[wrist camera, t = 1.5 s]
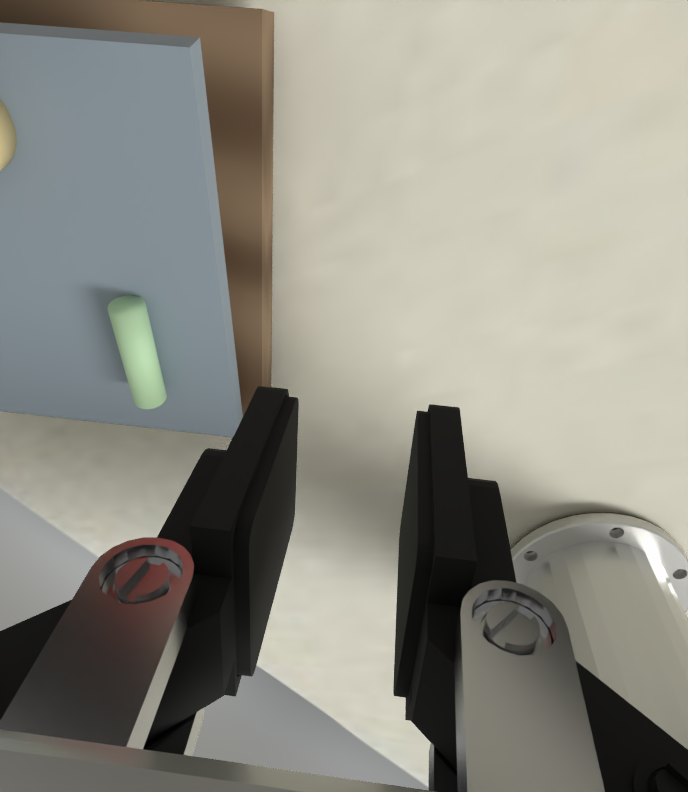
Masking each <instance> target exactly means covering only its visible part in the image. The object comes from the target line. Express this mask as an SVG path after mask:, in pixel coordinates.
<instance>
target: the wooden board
mask: <svg viewBox="0 0 688 792" xmlns="http://www.w3.org/2000/svg"><path fill="white" fill-rule="evenodd" d="M0 22H1V23H15V24H28V25H42V26H55V27H69V28H82V29H96V30H109V31H123V32H136V33H150V34H163V35H176V36H190V37H200V42H201V51H202V60H203V68H204V77H205V86H206V95H207V104H208V113H209V122H210V130H211V139H212V148H213V157H214V166H215V175H216V183H217V192H218V201H219V210H220V219H221V228H222V237H223V245H224V254H225V263H226V272H227V281H228V290H229V298H230V307H231V316H232V325H233V334H234V343H235V352H236V360H237V369H238V378H239V387H240V396H241V405H242V413H243V416H244V414H245V412H246V410H247V408H248V405H249V403H250V401H251V399H252V397H253V395H254V393H255V391H256V389H257V387H258V386H263V387H271V335H272V211H273V88H274V12H271V11H267V10H264V9H254V8H240V7H226V6H212V5H198V4H184V3H170V2H156V1H142V0H0Z"/></svg>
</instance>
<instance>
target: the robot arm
mask: <svg viewBox="0 0 688 792" xmlns="http://www.w3.org/2000/svg"><path fill="white" fill-rule="evenodd" d="M297 433H298V398H295V397H289V393H288V389H282V388H272V387H263V386H258V387H257V389H256V391H255V393H254V395H253V397H252V399H251V401H250V403H249V405H248V408H247V410H246V412H245V414H244V416H243V418H242V420H241V422H240V424H239V426H238V428H237V430H236V432H235V434H234V437H233V439H232V441H231V443H230V445H229V447H228V449H227V450H218V449H210V448H208V449H206V450H205V451H204V452H203V454H202V455H201V457H200V459H199V461H198V463H197V464H196V466H195V468H194V470H193V472H192V474H191V476H190V477H189V479H188V481H187V483H186V485H185V487H184V488H183V490H182V492H181V494H180V496H179V498H178V500H177V501H176V503H175V505H174V507H173V509H172V511H171V513H170V514H169V516H168V518H167V520H166V522H165V524H164V526H163V527H162V529H161V531H160V533H159V535H158V537H157V538H139V539H135V540H130V541H127V542H124V543H122V544H120V545H117V546H115V547H113V548H111V549H110V550H109V551H107V552H106V553H104V554H103V555H102V556H100V557H99V559H98V560H97V561H96V562H95V563H94V565H93V566H92V567H91V569H90V570H89V572H88V574H87V576H86V577H85V579H84V580H83V582H82V584H81V586H80V587H79V589H78V591H77V592H76V594H75V596H74V597H73V599H72V600H70V601H68V602H66V603H63V604H61V605H59V606H57V607H54V608H52V609H50V610H47V611H45V612H43V613H41V614H39V615H36V616H34V617H32V618H30V619H27V620H25V621H22V622H20V623H18V624H16V625H14V626H11V627H9V628H7V629H5V630H2V631H0V792H688V618H687V616H686V614H685V613H686V611H687V610H688V559H687V557H686V555H685V553H684V551H683V550H682V548H681V547H680V546H679V544H678V543H677V542H676V540H675V539H673V538H672V537H671V536H670V535H669V534H667V533H666V532H665V531H664V530H662V529H661V528H659V527H657V526H655V525H653V524H651V523H649V522H647V521H644V520H641V519H638V518H635V517H632V516H626V515H620V514H613V513H589V514H582V515H574V516H570V517H566V518H563V519H559V520H556V521H553V522H551V523H548V524H546V525H544V526H542V527H540V528H537V529H536V530H534V531H533V532H531V533H530V534H528V535H527V536H525V537H524V538H522V539H521V540H520V541H519V542H518V543H517V544H516V545H515V546H514V547H513V548H512V549H511V550H510V545H509V539H508V534H507V528H506V523H505V518H504V512H503V507H502V502H501V496H500V491H499V487H498V483H497V482H496V481H489V480H481V479H472V478H468V477H467V468H466V460H465V451H464V443H463V434H462V426H461V417H460V409H459V408H458V407H449V406H439V405H429V408H428V412H424V411H417V414H416V420H415V427H414V434H413V441H412V449H411V456H410V463H409V470H408V477H407V484H406V491H405V498H404V505H403V512H402V519H401V527H400V537H399V560H398V586H397V612H396V639H395V665H394V696H399V697H406V720H410V721H412V722H413V723H414V725H415V726H416V727H417V728H418V729H419V730H420V731H421V732H422V733H423V734H424V735H425V737H426V738H427V739H428V740H429V741H430V742H431V744H430V750H429V791H427V790H421V789H414V788H407V787H400V786H394V785H387V784H380V783H373V782H366V781H360V780H353V779H346V778H339V777H332V776H325V775H318V774H311V773H304V772H298V771H291V770H284V769H277V768H270V767H263V766H256V765H249V764H242V763H235V762H228V761H221V760H214V759H208V758H201V757H194V756H193V752H194V749H195V746H196V742H197V739H198V736H199V732H200V729H201V725H202V721H203V716H204V707H206V706H207V705H209V704H211V703H212V702H214V701H216V700H217V699H219V698H221V697H222V696H224V695H230V696H236V693H237V690H238V686H239V683H240V679H241V676H242V675H245V676H253V673H254V671H255V667H256V664H257V660H258V656H259V652H260V649H261V645H262V641H263V637H264V634H265V630H266V626H267V622H268V618H269V615H270V611H271V607H272V603H273V600H274V596H275V592H276V588H277V584H278V581H279V577H280V573H281V569H282V566H283V562H284V558H285V554H286V550H287V547H288V543H289V539H290V535H291V532H292V527H293V522H294V515H295V493H296V463H297Z"/></svg>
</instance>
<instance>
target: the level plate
mask: <svg viewBox="0 0 688 792" xmlns="http://www.w3.org/2000/svg"><path fill="white" fill-rule="evenodd" d="M0 411H5V412H14V413H23V414H32V415H40V416H49V417H58V418H67V419H76V420H85V421H94V422H102V423H111V424H120V425H129V426H138V427H147V428H155V429H164V430H173V431H182V432H191V433H200V434H209V435H217V436H226V437H234V434H235V432H236V430H237V428H238V426H239V424H240V422H241V420H242V418H243V413H242V405H241V396H240V387H239V378H238V369H237V360H236V352H235V343H234V334H233V325H232V316H231V307H230V298H229V290H228V281H227V272H226V263H225V254H224V245H223V237H222V228H221V219H220V210H219V201H218V192H217V183H216V175H215V166H214V157H213V148H212V139H211V130H210V122H209V113H208V104H207V95H206V86H205V77H204V68H203V60H202V51H201V42H200V37H190V36H176V35H163V34H150V33H136V32H123V31H109V30H96V29H82V28H69V27H55V26H42V25H28V24H15V23H1V22H0Z"/></svg>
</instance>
